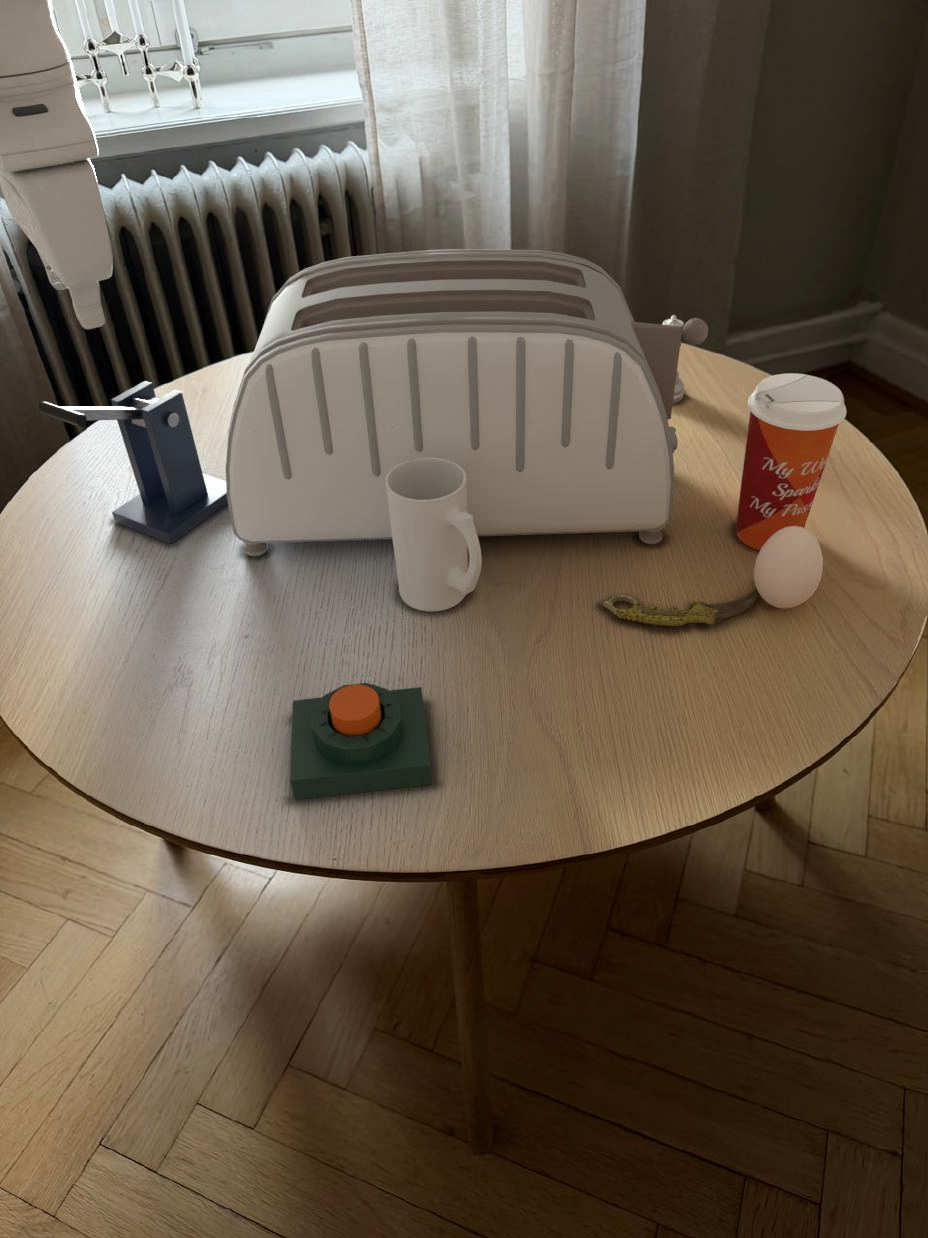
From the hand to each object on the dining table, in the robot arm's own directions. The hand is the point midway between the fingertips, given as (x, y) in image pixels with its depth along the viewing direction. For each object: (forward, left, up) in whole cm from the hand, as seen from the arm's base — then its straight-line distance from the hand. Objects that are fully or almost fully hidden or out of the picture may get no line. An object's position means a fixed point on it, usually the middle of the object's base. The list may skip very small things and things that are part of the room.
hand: (77, 304), depth 74 cm
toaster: (+31, +4, -25) cm, 40 cm away
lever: (-1, +4, -13) cm, 13 cm away
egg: (+57, -17, -25) cm, 64 cm away
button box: (+19, -29, -25) cm, 42 cm away
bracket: (+1, +7, -25) cm, 26 cm away
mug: (+27, -12, -25) cm, 39 cm away
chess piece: (+57, +22, -25) cm, 66 cm away
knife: (+48, -17, -25) cm, 57 cm away
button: (+19, -29, -21) cm, 40 cm away
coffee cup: (+59, -7, -25) cm, 65 cm away
